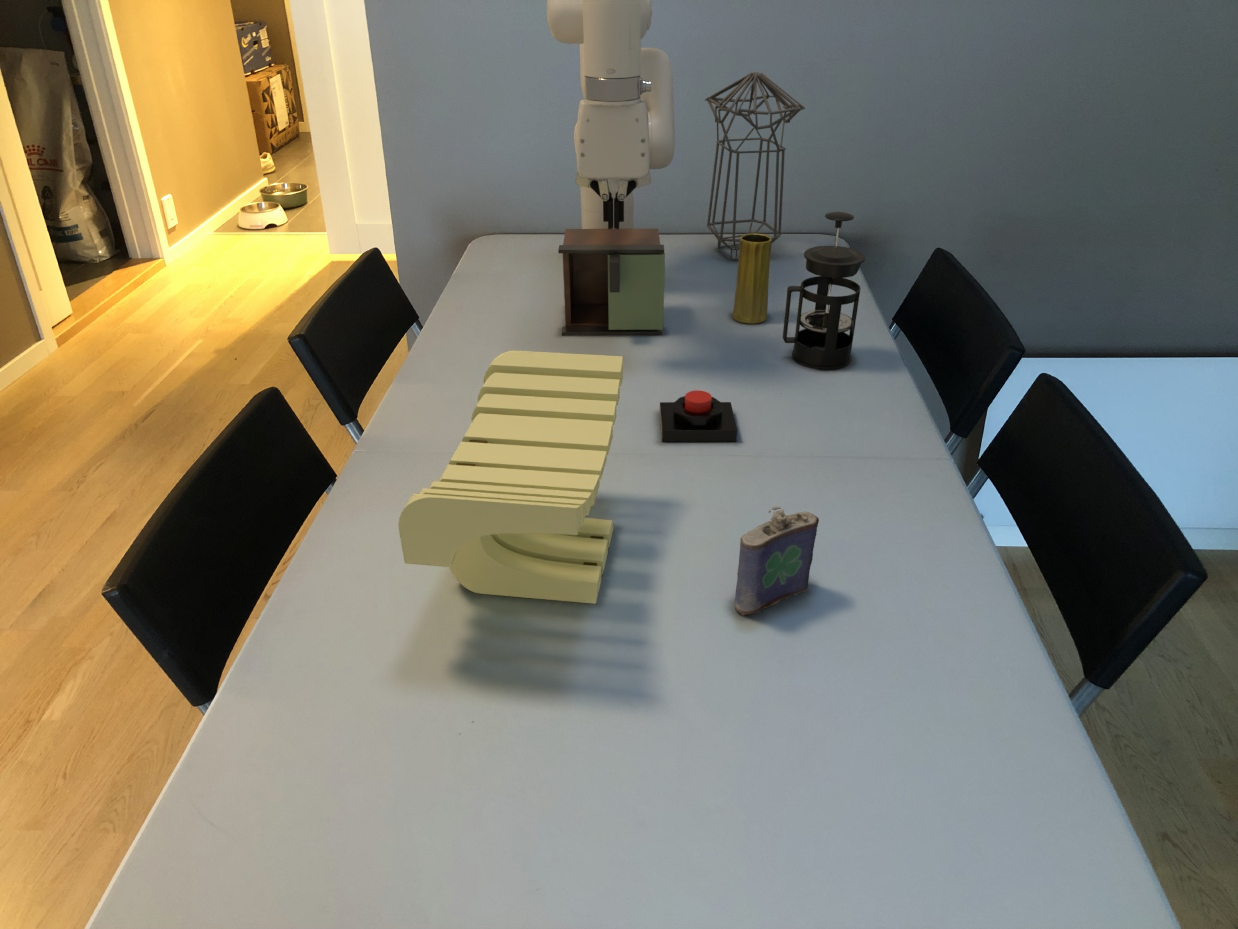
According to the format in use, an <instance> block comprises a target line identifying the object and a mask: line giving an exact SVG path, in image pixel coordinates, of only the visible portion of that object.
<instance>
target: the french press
mask: <svg viewBox="0 0 1238 929" xmlns="http://www.w3.org/2000/svg"><path fill="white" fill-rule="evenodd" d="M824 217H825V218H826V219H827V220H830V221H835V222H834V224H835V225H834V228H835V229H836V231H835V239H834V245H819V246H818V245H817V246H813V247H809V248H807V249H806V250H805V251H804V252H803V257H804V259H806V261H805V269H806V271H808V272H809V273H810V274H813V275H815V276H812V277H808V278H805V279H803V280H802V281H801V282H800V285H789V286H788V287H787V290H786V299H785V309H784V319H783V329H782V340H783V342H784V343H785V344H793V349H792V350H791V358H792V360H793V361H794V362H795V363H796V364H798V365H800V366H802V367H805V368H809V369H812V370H817V371H836V370H840V369H844V368H847V367H848V366H849V365H850V364H851V363H852V359H853V357H852V348H853V342H854V336H855V328H856V322H857V316H858V308H859V302H860V296H861V295H860V294H861V289H862V288H861V285H860V284H858V283H857V282H855V281H853V280H852V279H848V278H851V277H854V276H856V275H857V274H858V272H859V270H860V269H861V265H862V264H863V263H864V262H865V260H866V255H865V254H864V253H863V252H861V251H860V250H857V249H855V248H852V247H847V246H841V245H838V243H839V242H838V241H839V232H840V229H842V226H843V225H842V224H843V222H849V221H852V220H854V219H855V216H854V215H853V214H851V213H849V212H844V211H830V212H827V213H826V214H825V215H824ZM813 286H817V288H816V293H814V292H811V291H809V290H807V289H806V288H808V287H813ZM832 286H838V287H843V288H845V289H846V288H847V289H849V290H851V291H853V292H854V293H852V294H847V295H840V296H839V295H835V296H834V295H833V296H832ZM792 293H799V295H798V306H797V314H796V324H795V333H794V336H788V328H789V322H790V321H789V319H790V312H791V300H792ZM804 299H805V300H807V301H808V302H812V303H815V304H814V305H815V306H814V310H809V311H806V312H803V300H804ZM848 304H849V305H850V304H853V306H852V313H851V317H850V316H849V315H847V314H845V313H843V312H842V306H845V305H848ZM802 312H803V313H802ZM801 327H802V328H803V329H801ZM848 331H849V334H848V333H847V332H848ZM821 348H823V349H821Z"/></svg>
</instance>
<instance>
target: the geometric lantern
mask: <svg viewBox="0 0 1238 929" xmlns="http://www.w3.org/2000/svg"><path fill="white" fill-rule="evenodd" d="M757 86H758V88H759V91H760V93H761V95H757V93H758V92H757V90H758V89H757ZM731 89H732V90H731ZM747 89H748V90H747ZM729 90H731V91H730V92H729V93H728V94H727V95H725V97H718V96H720V95H723V93H726V92H728V91H729ZM740 90H741V91H740ZM746 90H747V91H746ZM767 90H768V91H769V92H768V91H767ZM745 91H746V94H745ZM738 93H739V94H738ZM749 93H750V95H749ZM769 93H771V95H770V94H769ZM737 94H738V95H737ZM743 94H745V95H744V97H743V98H742V96H743ZM736 95H737V97H736V98H734V97H735V96H736ZM748 95H749V98H747V97H748ZM770 98H774V99H775V103H776V106H777V109H778V110H773V111H772V109H771V106H770V104H769V101H768V99H770ZM757 100H761V101H760V102H758V103H757ZM704 102H707V104H708V106H709V108H710V110H711V112H712V114H713V116H714V123H716V141H715V143H716V145H715V154H714V161H713V162H714V163H713V171H712V179H711V189H710V196H709V197H710V198H709V204H708V206H709V207H708V214H707V222H706V223H707V224H706V227H707V228H708V229H709V231H710V232H711V233H712V234H713V236H714V237H715V238H716V240H717V248H716V250H717V251H718V252H719V253H721V255H723V256H724V257H726V258H727V259H728V260H729V261H739V257H738V253H739V252H738V251H739V250H740V237H741V236H742V235H743V234H740V235H736V226H737V224H741V223H750V225H749V230H748V233H747V234H750V233H751V232H752V226H753V223H758V224H761V225H759V227H758V228H757V229H756V230H755V232H754V233H759V231H760V230H761V229H762V228H763V226H765V227H767V228H768V229H770V231H772V232H773V237H771V236H770V237H771V239H772V244H773V243H774V242H775V241H776V240H778V239H779V238H780V237H781V235H782V220H783V218H782V216H783V196H784V177H785V176H784V174H785V155H786V154H785V153H786V150H787V148H786V147H785V146H783V141H784V140H783V139H784V131H785V124H788V123H791V121H792V119H793V118H794V117H795V116H796V115H797V114H798V113H799V112H800V111H803V110H805V109H806V107H805V106H803V104H802V103H800V102H799V101H798V100H796V99H795V98H794V97H793V96H791V95H790V94H789V93H787V92H786V91H785V90H784V89H783V88H782V87H780V86H779V85H778V84H776V83H775V82H774V81H773V80H771V79H770V78H769V77H768V76H766V75H765V74H764V73H763V72H758V71H751V72H750V73H748V74H746V75H745V76H743V77H741V78H739V79H738V80H735V81H734V82H732V83H731V84H729V85H727V86H725V87H724V88H722V89H720V90H718V91H717V92H715V93H713V94H711V95H710V96H707V97H706V98H704ZM747 102H748V103H749V104H748V108H742V106H743V105H744V103H747ZM728 103H731V105H730V107H728V106H727V105H728ZM739 103H740V105H739ZM752 103H753V109H751V108H752ZM763 104H765V106H766V109H767V111H764V110H758V109H759V108H760V107H761V106H762V105H763ZM714 105H715V106H714ZM738 105H739V107H738ZM781 105H783V106H782V107H781ZM733 108H734V110H733ZM782 108H783V109H782ZM721 112H725V114H724V115H723V117H722V118H721ZM730 113H731V114H732V116H731V119H730V121H729V123H728V125H727V128H726V127H725V125H724V122H725V121H726V119H727V118H728V116H729V114H730ZM752 114H753V115H754V116H755V118H754V119H755V123H754V121H753V119H752V117H751V116H752ZM777 114H778V115H779V117H780V118H778V119H776V120H775V121H773V115H777ZM758 115H764V116H769V124H765V125H759V124H758V122H759V121H758V120H759V119H758ZM736 116H737V117H742V118H743V119H744V120H745V121H746V122H747V123H748V124H749V125H750V126H752V129H751V130H750V131H749V132H748V133H747V135H746V137H744V138H731V139H730V138H729V136H728V134H729V132H730V129H731V128H732V124H733V122H734V120H735V117H736ZM781 123H782V129H781V137H780V144H779V142H778V139H777V136H776V131H777V130H778V128H779V126H780V125H781ZM719 124H720V126H721V129H722V132H723V137H722V139H719V136H720V135H719ZM774 126H775V127H774ZM764 129H770V131H771V133H770V135H769V137H768V138H765V137H762V135H761V133H760V131H759V130H764ZM754 130H755V132H756V133H757V135H758V137H750V138H749V136H750V135H751V134H752V132H753V131H754ZM772 138H773V140H772ZM740 141H741V143H740V144H739V145H738V146H737V147H736V149H733V148H732V145H731V143H730V142H740ZM745 141H759V148H758V149H759V150H741V151H739V149H740V147H741V146H742V145H743V144H744V143H745ZM764 142H766V143H767V144H766V150H763V144H764ZM725 144H727V146H725ZM771 144H773V145H775V147H776V149H770V146H771ZM720 146H721V149H720ZM719 150H720V156H719ZM725 150H726V151H727V152H729V154H728V161H727V171H726V180H725V188H724V189H725V190H724V199H723V207H722V215H721V221H716V213H717V205H718V198H719V192H720V183H721V176H722V168H723V160H724V153H725ZM763 153H766V157H765V158H766V159H765V178H764V180H765V181H764V196H763V197H764V199H763V216H762V217H763V219H762V220H759V219H757V218H756V219H755V213H756V207H757V206H756V205H757V198H758V196H757V195H758V188H759V179H760V171H761V160H762V154H763ZM770 153H776V157H775V158H776V160H775V186H774V219H773V226H772V225H770V224H769V223H768V222H767V205H768V187H769V165H770ZM780 153H781V162H780ZM733 154H736V157H735V159H736V160H735V177H734V194H733V196H734V197H733V214H732V215H733V216H732V220H725V219H726V212H727V211H726V210H727V202H728V193H729V184H730V175H731V167H732V159H733V158H732V157H733ZM740 154H758V158H757V166H756V167H757V168H756V177H755V183H754V184H755V186H754V195H753V201H752V202H753V203H752V212H751V218H750V219H737V206H738V187H739V168H740V167H739V166H740ZM718 157H719V158H718ZM718 159H719V163H718ZM718 164H719V165H718ZM717 166H718V171H717ZM779 171H780V184H779ZM716 173H717V180H716ZM715 184H716V188H715ZM779 186H780V187H779ZM714 191H715V192H714ZM714 193H715V195H714ZM714 196H715V197H714ZM713 199H714V203H713ZM778 201H779V202H778ZM778 204H779V207H778ZM778 208H779V209H778ZM712 209H713V210H712ZM712 211H713V212H712ZM711 217H712V220H711ZM726 224H727V225H728V224H732V235H731V236H724V228H725V225H726ZM715 225H720V233H719V232H718V230H717V228H716V226H715ZM727 242H728V243H729V242H730V243H733V244H728V243H727ZM722 244H723V245H722ZM737 246H738V248H737ZM723 248H728V249H729V250H730V254H729V255H727V253H725V252H724V251H723V250H721V249H723ZM734 251H735V255H734V256H735V257H734V258H733V252H734Z"/></svg>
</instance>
